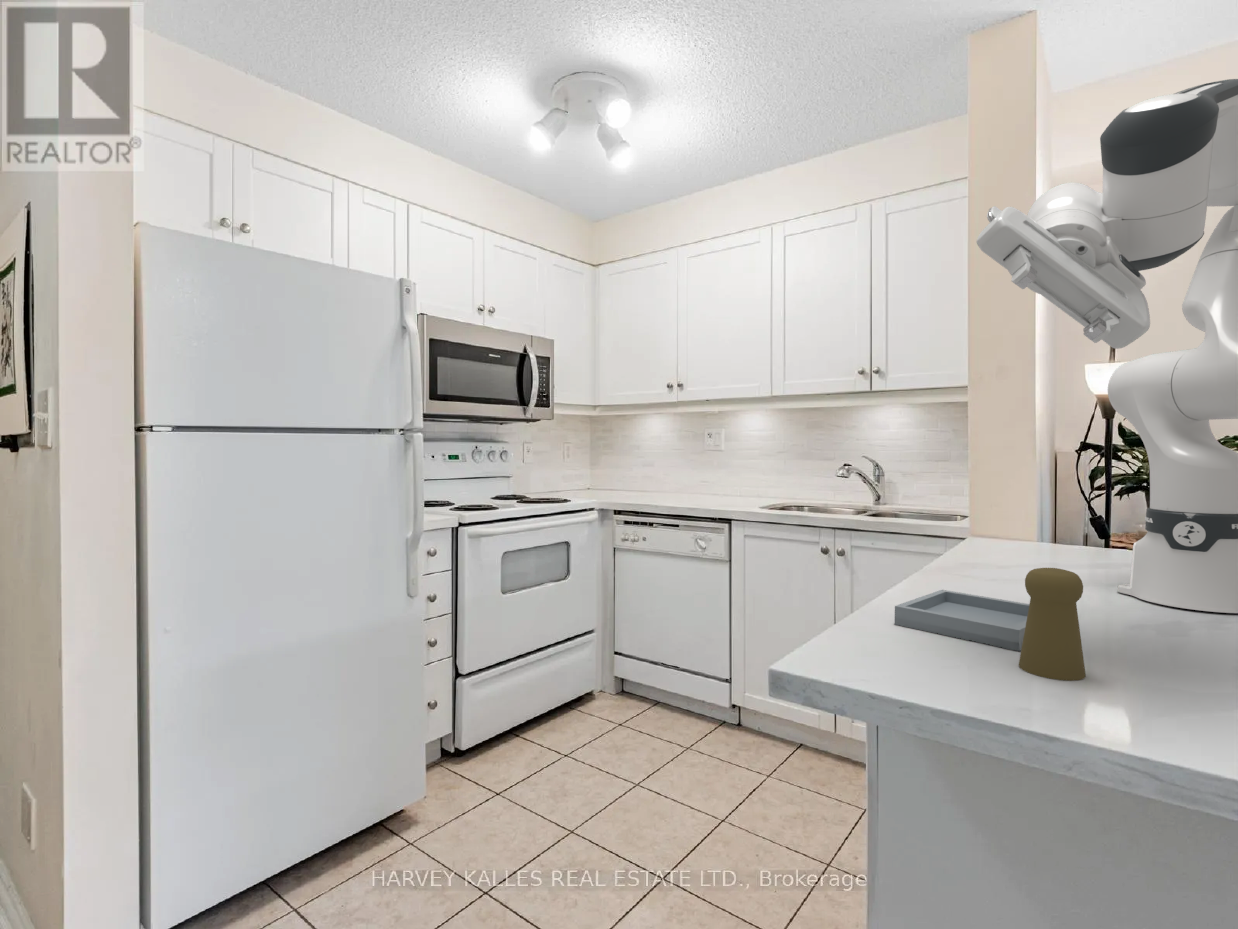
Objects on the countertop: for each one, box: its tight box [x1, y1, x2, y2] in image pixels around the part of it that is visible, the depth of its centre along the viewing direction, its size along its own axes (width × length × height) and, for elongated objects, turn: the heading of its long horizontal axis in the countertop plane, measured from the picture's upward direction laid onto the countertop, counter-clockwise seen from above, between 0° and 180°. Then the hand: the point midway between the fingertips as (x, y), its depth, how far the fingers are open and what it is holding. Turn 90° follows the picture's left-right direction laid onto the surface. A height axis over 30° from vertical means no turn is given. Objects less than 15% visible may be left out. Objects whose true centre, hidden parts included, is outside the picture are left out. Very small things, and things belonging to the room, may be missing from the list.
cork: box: [1018, 567, 1087, 682], centre depth 70 cm, size 6×6×11 cm
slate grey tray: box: [894, 589, 1030, 652], centre depth 87 cm, size 15×15×2 cm
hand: (1060, 307), depth 67 cm, fingers open, 8 cm apart
